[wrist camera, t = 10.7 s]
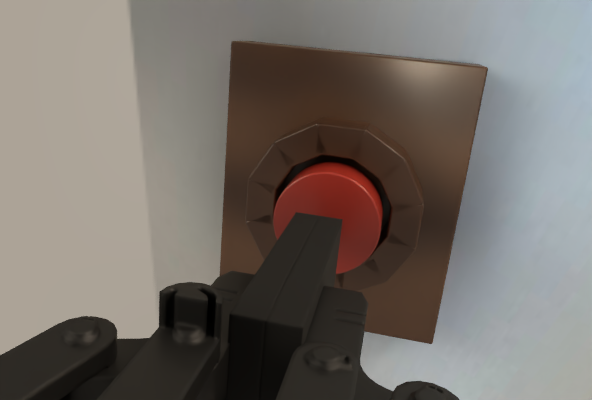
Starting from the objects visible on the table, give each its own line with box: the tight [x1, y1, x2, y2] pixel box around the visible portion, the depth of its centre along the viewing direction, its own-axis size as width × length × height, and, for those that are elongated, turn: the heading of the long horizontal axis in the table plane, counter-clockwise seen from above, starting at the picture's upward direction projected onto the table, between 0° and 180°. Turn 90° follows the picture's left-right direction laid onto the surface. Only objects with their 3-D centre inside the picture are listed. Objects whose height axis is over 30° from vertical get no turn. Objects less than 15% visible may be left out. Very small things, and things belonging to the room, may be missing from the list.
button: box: [273, 162, 383, 274], centre depth 20 cm, size 4×4×2 cm
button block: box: [220, 41, 488, 344], centre depth 22 cm, size 12×10×4 cm
